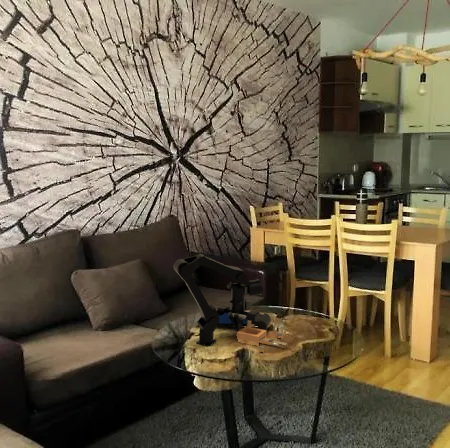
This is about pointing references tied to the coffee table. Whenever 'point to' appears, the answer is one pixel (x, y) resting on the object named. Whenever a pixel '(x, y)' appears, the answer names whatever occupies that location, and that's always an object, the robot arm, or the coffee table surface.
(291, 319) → the coffee table surface
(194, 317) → the coffee table surface
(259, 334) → the collar
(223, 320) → the handheld game console
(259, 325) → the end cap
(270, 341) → the rail
